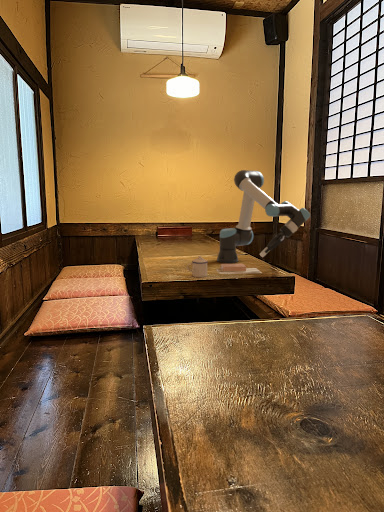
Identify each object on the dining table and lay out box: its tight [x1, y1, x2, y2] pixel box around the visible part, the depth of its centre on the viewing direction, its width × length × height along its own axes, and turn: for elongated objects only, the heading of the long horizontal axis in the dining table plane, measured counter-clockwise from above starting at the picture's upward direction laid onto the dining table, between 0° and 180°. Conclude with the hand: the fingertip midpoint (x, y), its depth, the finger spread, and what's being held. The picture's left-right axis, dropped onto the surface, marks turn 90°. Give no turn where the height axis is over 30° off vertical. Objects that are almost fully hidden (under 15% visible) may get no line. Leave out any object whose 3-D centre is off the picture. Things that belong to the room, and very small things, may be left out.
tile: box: [220, 263, 247, 272], centre depth 226 cm, size 10×3×14 cm
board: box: [216, 267, 263, 275], centre depth 226 cm, size 20×26×1 cm
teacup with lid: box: [186, 255, 209, 278], centre depth 214 cm, size 12×9×12 cm
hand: (260, 255), depth 226 cm, fingers closed
